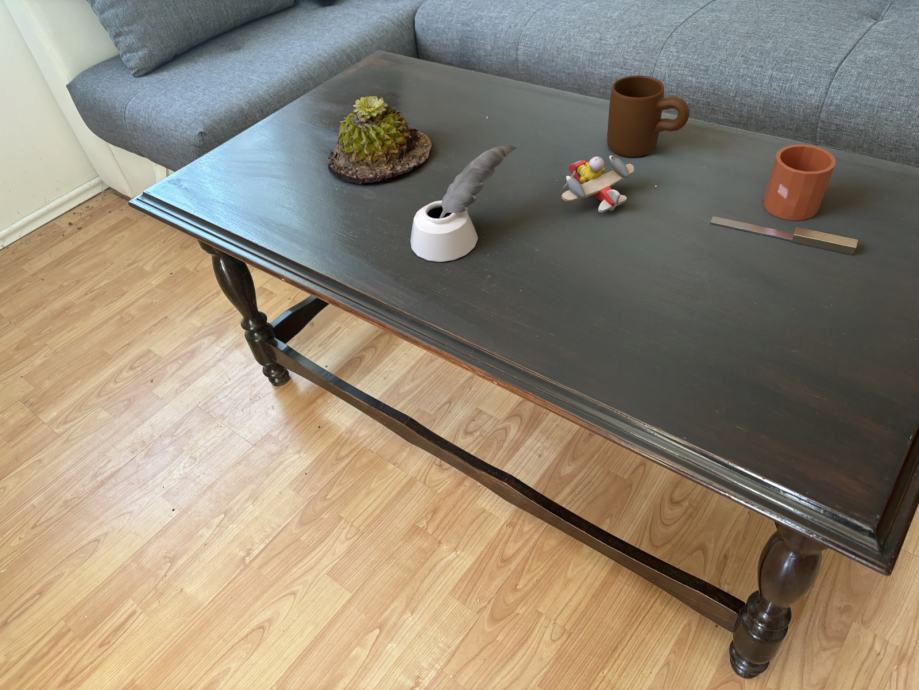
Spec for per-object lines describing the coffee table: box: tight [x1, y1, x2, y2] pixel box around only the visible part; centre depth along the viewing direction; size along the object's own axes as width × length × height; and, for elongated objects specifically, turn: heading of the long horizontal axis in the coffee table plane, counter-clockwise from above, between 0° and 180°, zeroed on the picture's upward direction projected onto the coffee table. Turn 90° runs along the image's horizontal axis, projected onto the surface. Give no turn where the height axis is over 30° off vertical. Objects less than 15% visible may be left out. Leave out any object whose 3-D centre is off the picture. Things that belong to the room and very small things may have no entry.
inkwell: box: [410, 144, 517, 263], centre depth 87 cm, size 9×18×10 cm, turn 131°
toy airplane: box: [560, 155, 635, 214], centre depth 89 cm, size 9×9×6 cm
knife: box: [709, 215, 859, 256], centre depth 83 cm, size 17×2×1 cm, turn 61°
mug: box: [606, 74, 690, 158], centre depth 96 cm, size 12×8×9 cm, turn 50°
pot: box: [762, 144, 837, 221], centre depth 84 cm, size 7×7×7 cm
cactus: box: [327, 95, 433, 185], centre depth 102 cm, size 17×16×10 cm
